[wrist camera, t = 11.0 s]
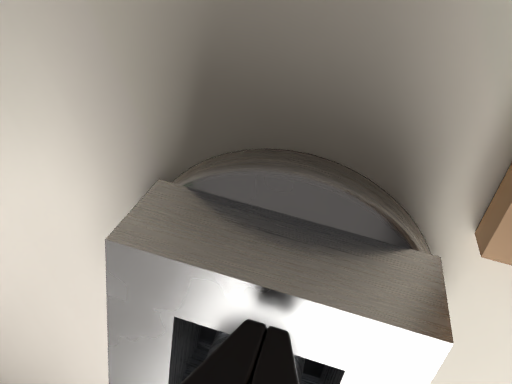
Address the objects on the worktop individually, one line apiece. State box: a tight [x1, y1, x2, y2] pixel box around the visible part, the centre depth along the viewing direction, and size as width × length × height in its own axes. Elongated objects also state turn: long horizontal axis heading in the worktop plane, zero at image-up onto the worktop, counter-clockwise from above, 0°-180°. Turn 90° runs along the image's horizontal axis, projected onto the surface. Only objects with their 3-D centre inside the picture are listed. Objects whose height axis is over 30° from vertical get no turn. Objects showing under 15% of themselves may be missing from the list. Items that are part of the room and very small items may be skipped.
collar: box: [105, 179, 454, 384], centre depth 12 cm, size 7×7×3 cm
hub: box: [172, 149, 430, 384], centre depth 12 cm, size 9×9×6 cm
